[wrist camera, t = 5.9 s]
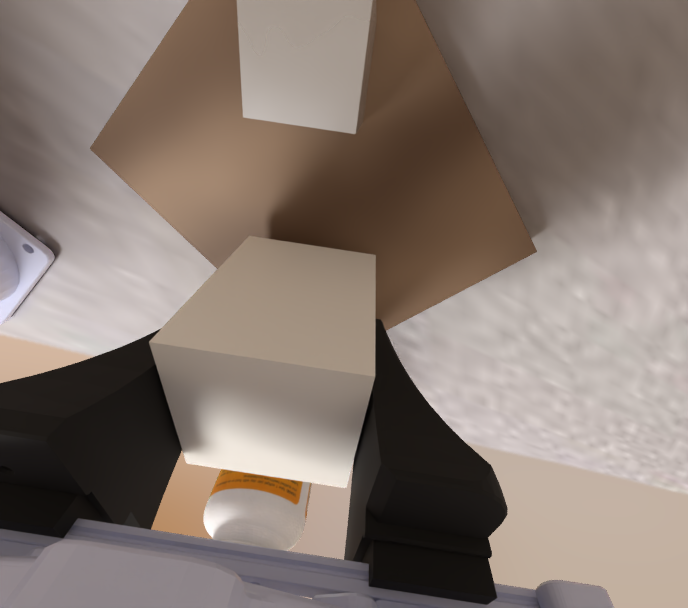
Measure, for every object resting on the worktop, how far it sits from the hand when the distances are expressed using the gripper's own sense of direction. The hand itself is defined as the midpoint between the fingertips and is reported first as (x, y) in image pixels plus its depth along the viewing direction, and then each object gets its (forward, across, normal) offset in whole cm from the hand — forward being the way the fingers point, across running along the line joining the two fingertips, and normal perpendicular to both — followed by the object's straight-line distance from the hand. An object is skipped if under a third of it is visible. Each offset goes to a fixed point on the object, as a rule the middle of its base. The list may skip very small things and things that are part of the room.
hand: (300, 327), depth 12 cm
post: (+3, 0, -8) cm, 9 cm away
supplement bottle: (+4, +1, +11) cm, 12 cm away
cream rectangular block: (+2, 0, 0) cm, 2 cm away
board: (+4, 0, -4) cm, 6 cm away
